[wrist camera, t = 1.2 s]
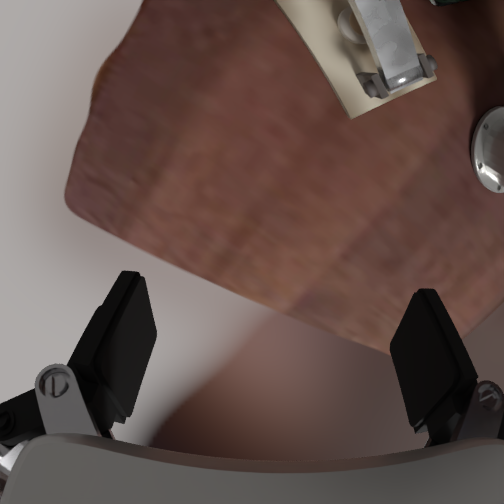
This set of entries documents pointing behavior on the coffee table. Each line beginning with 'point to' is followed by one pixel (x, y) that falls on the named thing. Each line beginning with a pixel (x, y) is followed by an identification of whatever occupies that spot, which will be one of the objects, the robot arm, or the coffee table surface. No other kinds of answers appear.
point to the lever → (389, 42)
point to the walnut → (350, 27)
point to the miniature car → (445, 2)
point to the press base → (346, 55)
